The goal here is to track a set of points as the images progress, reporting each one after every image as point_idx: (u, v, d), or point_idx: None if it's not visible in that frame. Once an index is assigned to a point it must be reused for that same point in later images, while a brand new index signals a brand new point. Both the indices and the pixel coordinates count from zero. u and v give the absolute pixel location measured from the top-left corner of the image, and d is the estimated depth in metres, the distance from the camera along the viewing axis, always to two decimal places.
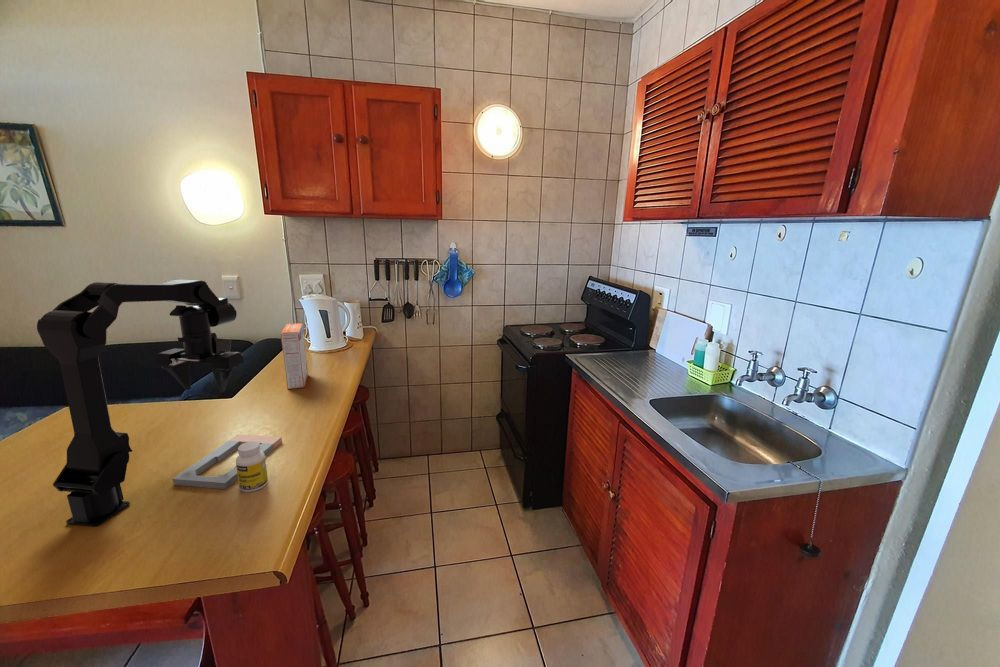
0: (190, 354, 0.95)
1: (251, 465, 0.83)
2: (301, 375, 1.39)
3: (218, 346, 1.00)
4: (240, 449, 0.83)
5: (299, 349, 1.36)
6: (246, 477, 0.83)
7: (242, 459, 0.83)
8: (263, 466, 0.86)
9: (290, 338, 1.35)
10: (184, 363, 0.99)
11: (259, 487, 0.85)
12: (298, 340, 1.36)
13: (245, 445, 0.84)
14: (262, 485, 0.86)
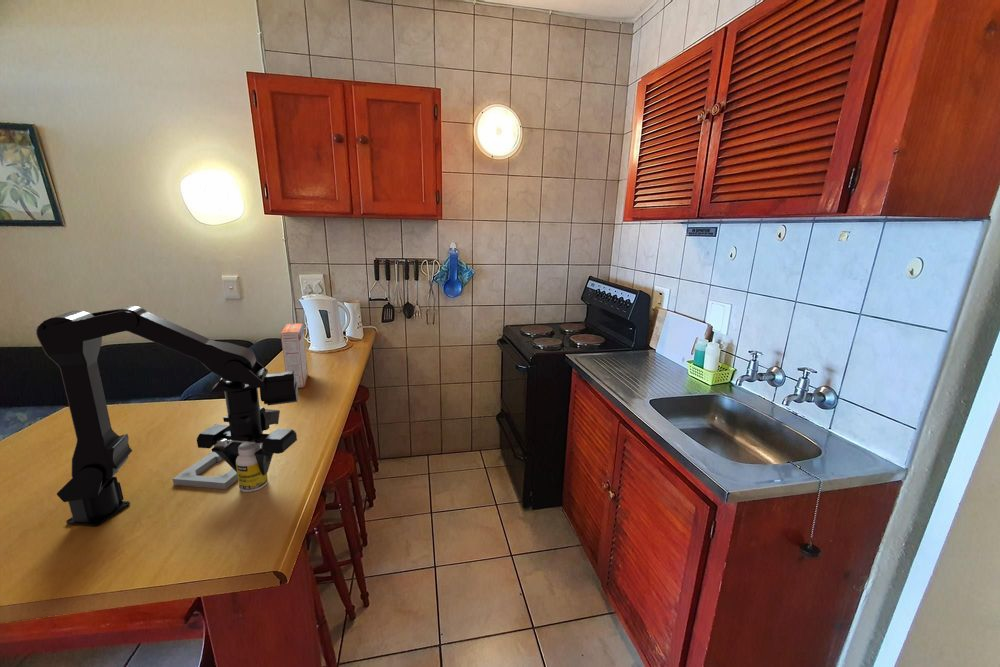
0: (237, 436, 0.81)
1: (251, 465, 0.83)
2: (301, 375, 1.39)
3: (267, 422, 0.86)
4: (240, 449, 0.83)
5: (299, 349, 1.36)
6: (246, 477, 0.83)
7: (242, 459, 0.83)
8: None
9: (290, 338, 1.35)
10: (235, 442, 0.85)
11: (259, 487, 0.85)
12: (298, 340, 1.36)
13: (245, 445, 0.84)
14: (262, 485, 0.86)
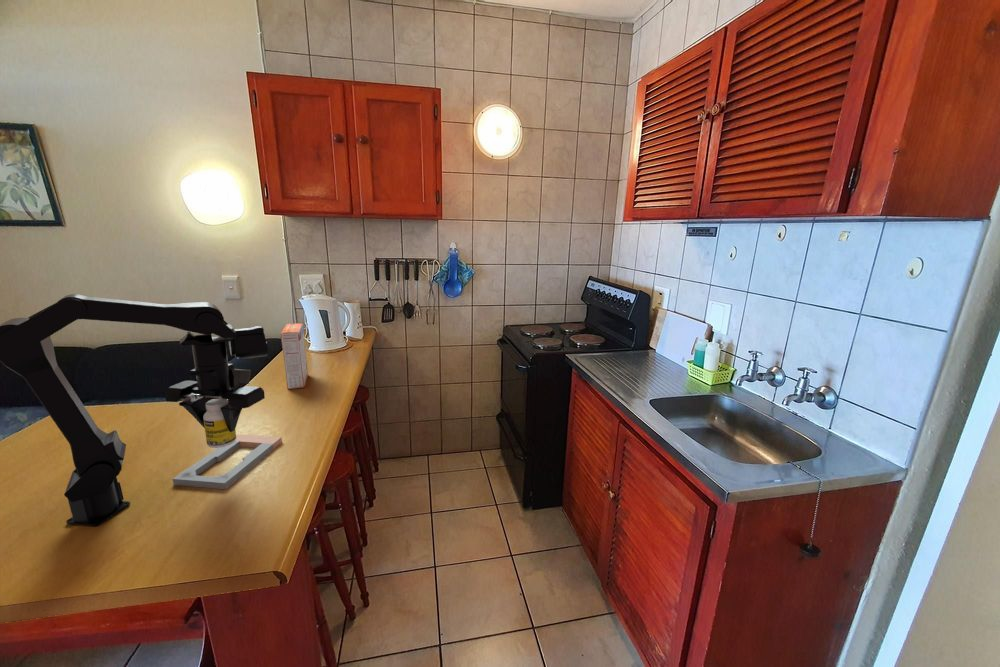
0: (204, 390, 0.81)
1: (218, 420, 0.84)
2: (301, 375, 1.39)
3: (236, 379, 0.86)
4: (207, 404, 0.84)
5: (299, 349, 1.36)
6: (213, 433, 0.84)
7: (209, 414, 0.84)
8: None
9: (290, 338, 1.35)
10: (204, 399, 0.86)
11: (226, 443, 0.86)
12: (298, 340, 1.36)
13: (213, 401, 0.85)
14: (229, 442, 0.86)
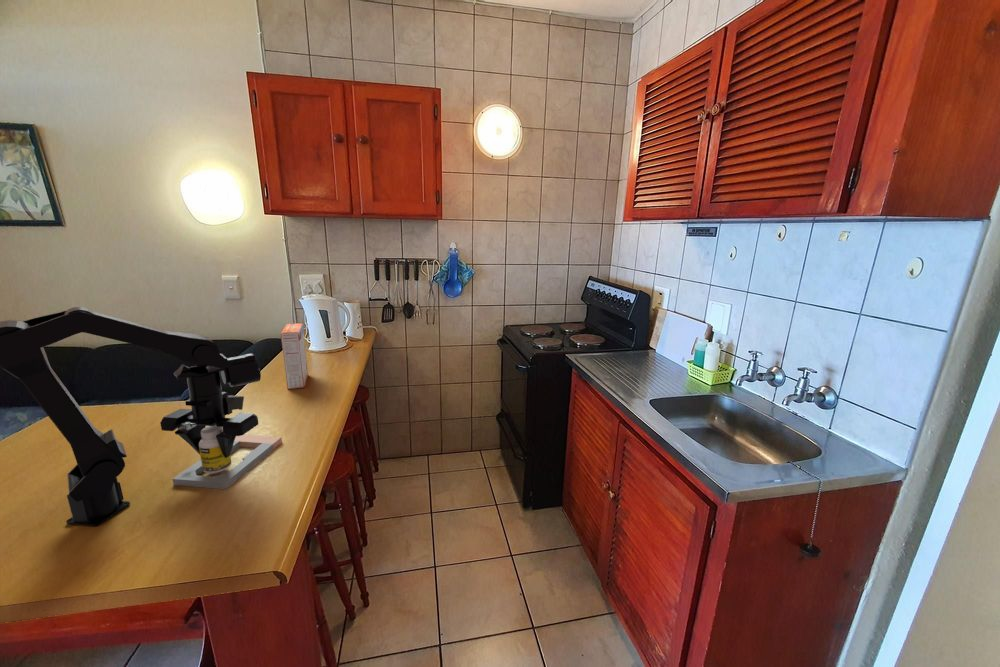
0: (199, 419, 0.84)
1: (213, 447, 0.87)
2: (301, 375, 1.39)
3: (230, 407, 0.89)
4: (202, 432, 0.87)
5: (299, 349, 1.36)
6: (208, 459, 0.87)
7: (205, 441, 0.87)
8: None
9: (290, 338, 1.35)
10: (199, 426, 0.89)
11: (222, 469, 0.89)
12: (298, 340, 1.36)
13: (208, 428, 0.88)
14: (225, 467, 0.89)
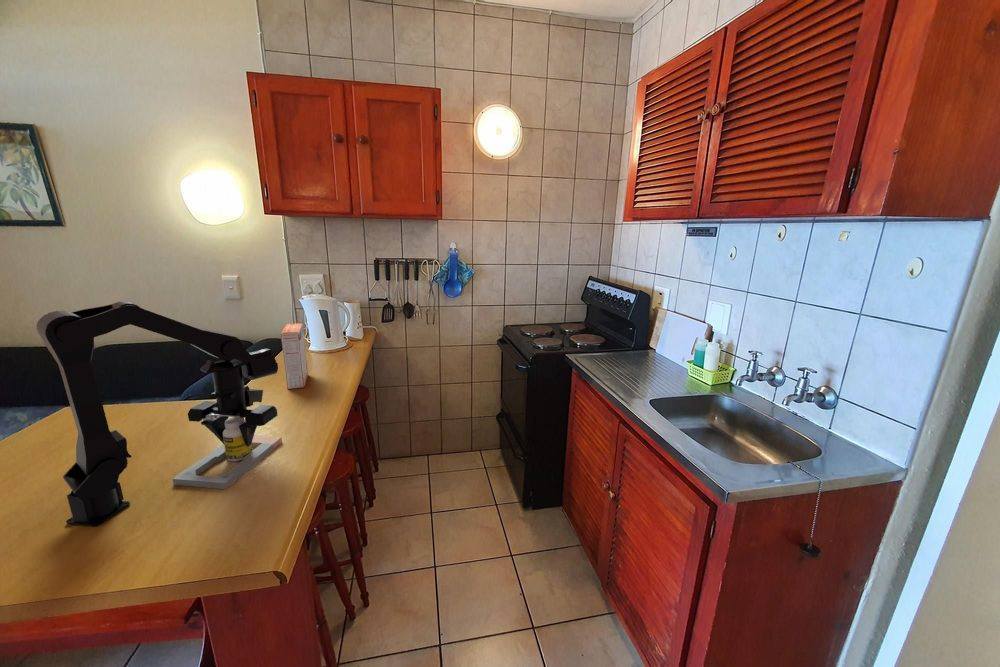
0: (223, 410, 0.91)
1: (236, 437, 0.94)
2: (301, 375, 1.39)
3: (251, 399, 0.96)
4: (226, 422, 0.93)
5: (299, 349, 1.36)
6: (232, 448, 0.94)
7: (228, 431, 0.94)
8: None
9: (290, 338, 1.35)
10: (222, 417, 0.96)
11: None
12: (298, 340, 1.36)
13: (231, 419, 0.95)
14: None
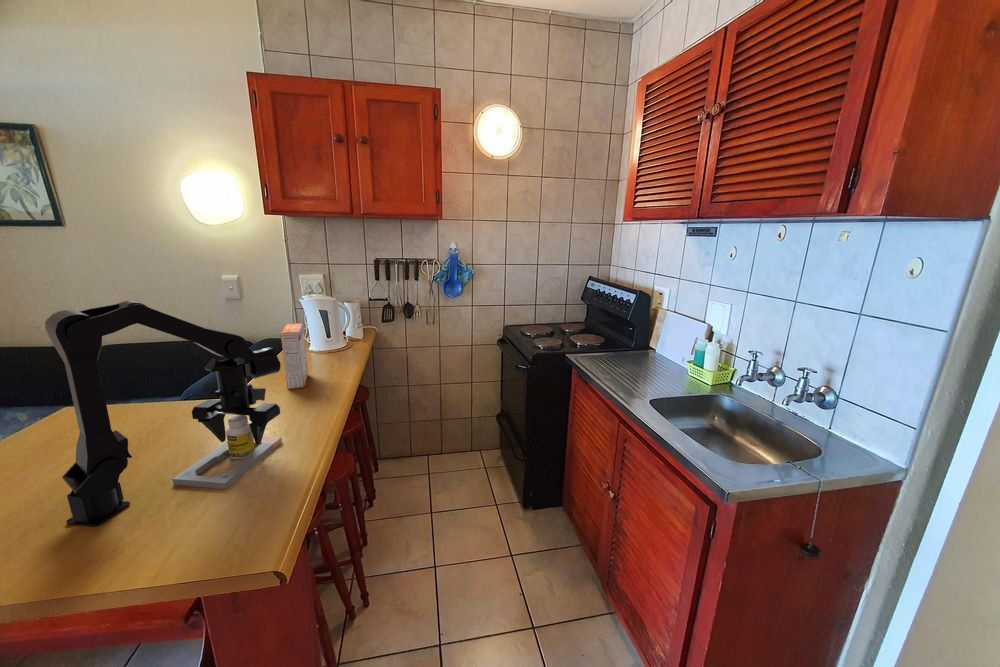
0: (227, 408, 0.92)
1: (239, 435, 0.95)
2: (301, 375, 1.39)
3: (254, 398, 0.97)
4: (230, 421, 0.94)
5: (299, 349, 1.36)
6: (235, 446, 0.95)
7: (232, 429, 0.95)
8: (250, 437, 0.97)
9: (290, 338, 1.35)
10: (219, 415, 0.97)
11: None
12: (298, 340, 1.36)
13: (234, 418, 0.96)
14: None
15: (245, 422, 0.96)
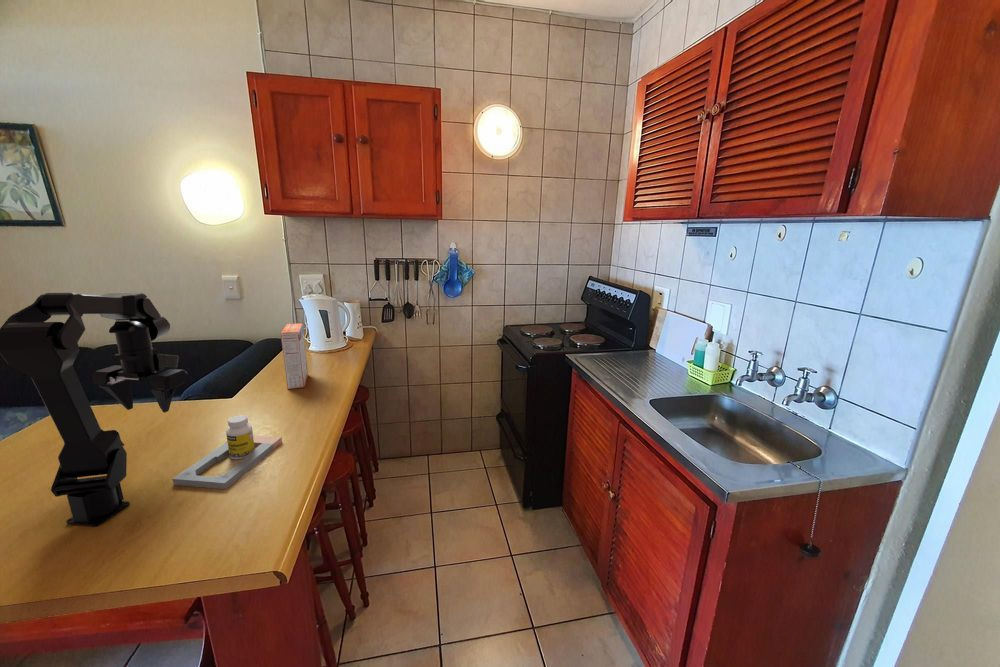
0: (128, 373, 0.88)
1: (239, 435, 0.95)
2: (301, 375, 1.39)
3: (161, 363, 0.93)
4: (230, 421, 0.94)
5: (299, 349, 1.36)
6: (235, 446, 0.95)
7: (232, 430, 0.95)
8: (250, 437, 0.97)
9: (290, 338, 1.35)
10: (125, 381, 0.93)
11: None
12: (298, 340, 1.36)
13: (234, 418, 0.96)
14: None
15: (245, 422, 0.96)
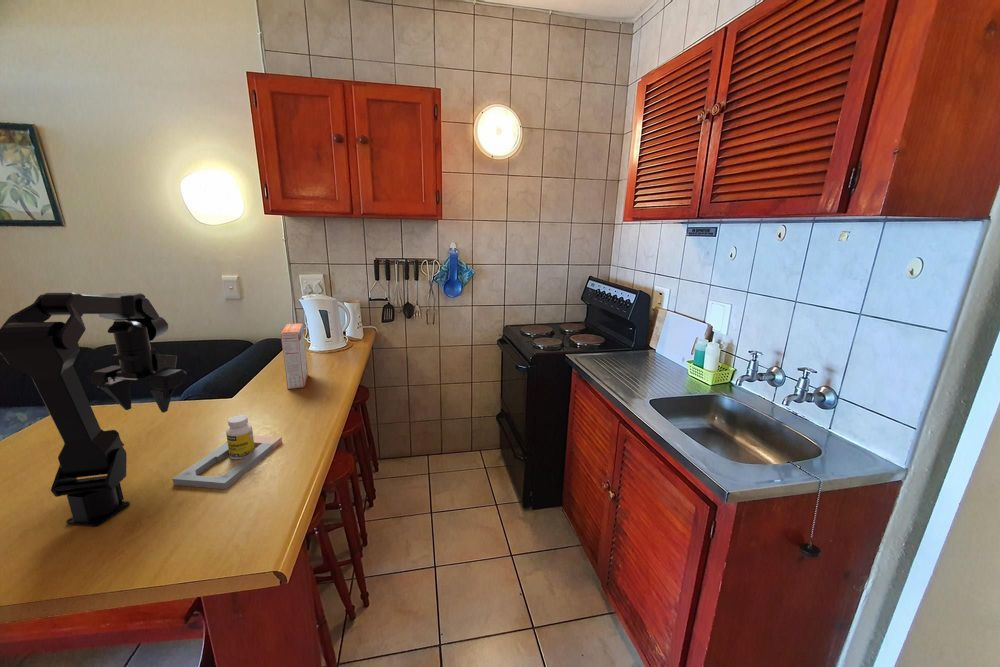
0: (126, 373, 0.88)
1: (239, 435, 0.95)
2: (301, 375, 1.39)
3: (160, 363, 0.93)
4: (230, 421, 0.94)
5: (299, 349, 1.36)
6: (235, 446, 0.95)
7: (232, 429, 0.95)
8: (250, 437, 0.97)
9: (290, 338, 1.35)
10: (123, 381, 0.93)
11: None
12: (298, 340, 1.36)
13: (234, 418, 0.96)
14: None
15: (245, 422, 0.96)
